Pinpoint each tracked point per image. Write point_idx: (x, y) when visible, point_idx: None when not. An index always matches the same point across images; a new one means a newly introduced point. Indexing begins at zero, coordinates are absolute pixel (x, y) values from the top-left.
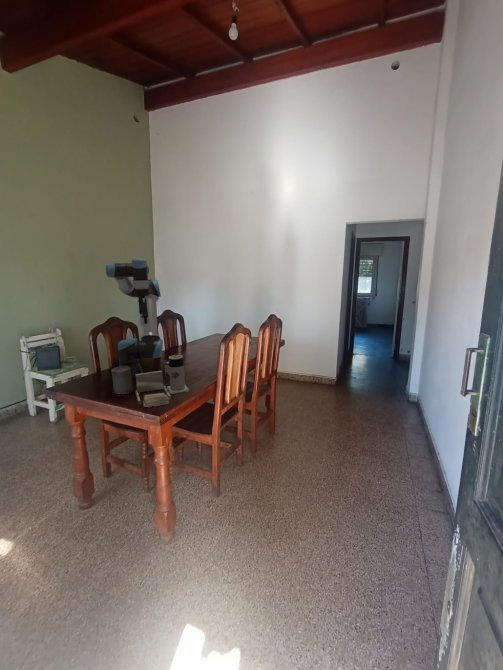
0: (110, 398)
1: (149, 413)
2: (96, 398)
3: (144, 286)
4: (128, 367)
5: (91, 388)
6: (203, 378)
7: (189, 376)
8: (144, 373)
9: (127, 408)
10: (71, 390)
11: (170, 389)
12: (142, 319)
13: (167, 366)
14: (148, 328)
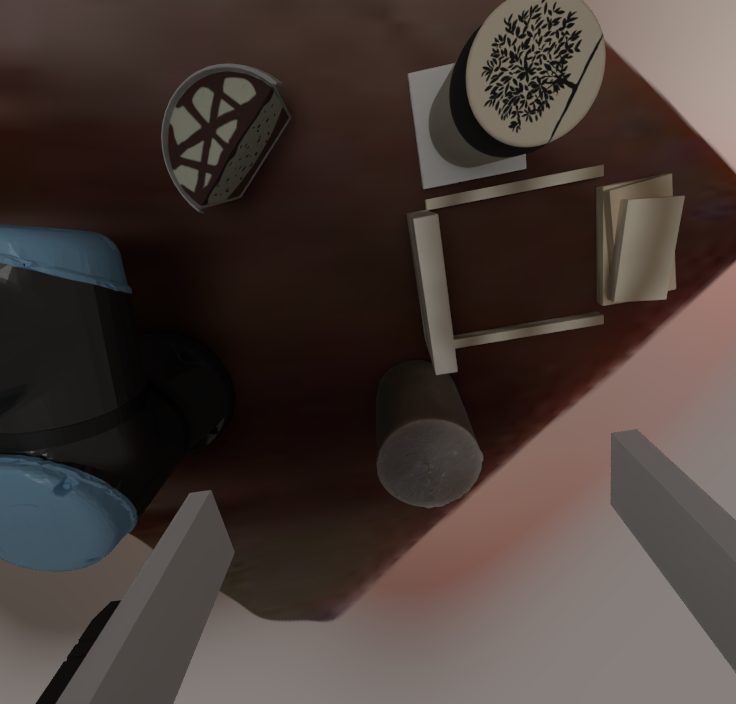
0: None
1: (726, 267)
2: None
3: None
4: (422, 429)
5: (325, 519)
6: None
7: (235, 32)
8: (438, 326)
9: (621, 361)
10: (330, 577)
11: (480, 168)
12: (178, 624)
13: (222, 182)
14: (649, 444)
